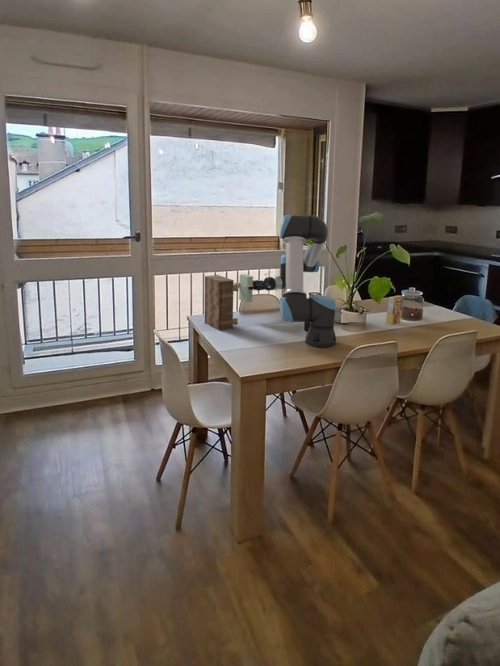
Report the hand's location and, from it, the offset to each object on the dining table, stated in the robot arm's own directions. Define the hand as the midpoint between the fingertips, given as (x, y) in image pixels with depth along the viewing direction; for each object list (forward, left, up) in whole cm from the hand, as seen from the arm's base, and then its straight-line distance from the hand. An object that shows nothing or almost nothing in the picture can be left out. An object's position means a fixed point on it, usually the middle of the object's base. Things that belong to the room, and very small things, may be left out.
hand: (238, 287), depth 266 cm
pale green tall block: (+1, -5, -8) cm, 9 cm away
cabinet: (-5, +11, -20) cm, 23 cm away
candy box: (-22, -87, -20) cm, 92 cm away
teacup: (-13, -59, -20) cm, 63 cm away
